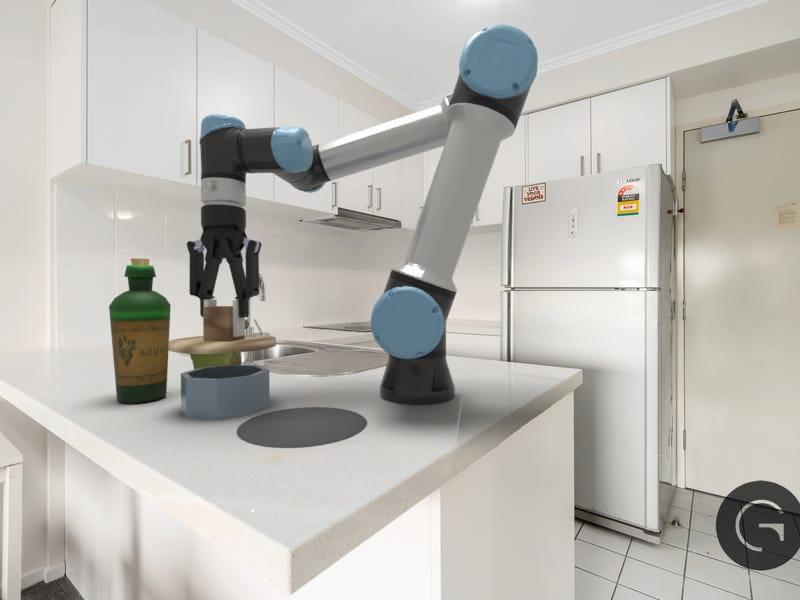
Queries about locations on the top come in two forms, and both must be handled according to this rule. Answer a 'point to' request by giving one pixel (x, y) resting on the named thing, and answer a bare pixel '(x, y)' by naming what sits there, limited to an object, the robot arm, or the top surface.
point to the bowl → (224, 391)
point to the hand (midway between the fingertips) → (224, 335)
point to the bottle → (140, 337)
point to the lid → (220, 336)
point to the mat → (301, 427)
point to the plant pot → (210, 360)
